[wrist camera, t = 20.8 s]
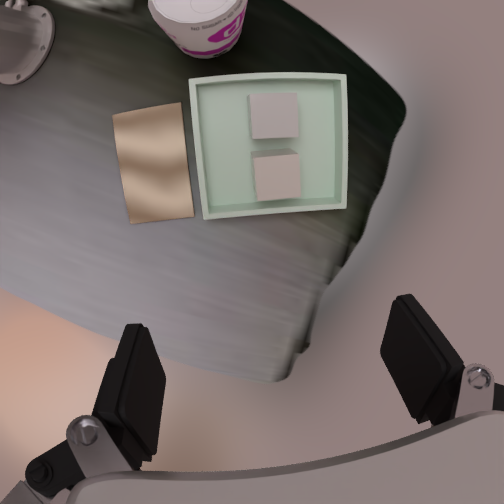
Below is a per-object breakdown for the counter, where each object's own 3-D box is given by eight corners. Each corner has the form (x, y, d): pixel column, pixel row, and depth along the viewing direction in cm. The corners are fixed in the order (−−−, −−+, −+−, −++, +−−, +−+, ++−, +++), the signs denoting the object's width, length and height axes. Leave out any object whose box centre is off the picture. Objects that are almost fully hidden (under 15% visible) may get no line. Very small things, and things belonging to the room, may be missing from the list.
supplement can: (254, 25, 29) (271, -21, 16) (211, 71, 32) (201, 48, 18) (203, -8, 26) (191, -63, 13) (160, 39, 29) (123, 3, 16)
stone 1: (246, 95, 33) (249, 93, 29) (287, 94, 33) (296, 92, 29) (249, 135, 35) (252, 139, 31) (289, 133, 35) (298, 137, 31)
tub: (192, 81, 32) (188, 79, 29) (336, 76, 33) (346, 74, 30) (205, 210, 40) (203, 219, 37) (337, 200, 41) (346, 208, 37)
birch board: (113, 115, 33) (112, 115, 32) (181, 102, 33) (180, 102, 33) (131, 222, 40) (130, 224, 39) (194, 215, 40) (194, 216, 39)
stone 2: (250, 151, 36) (253, 157, 32) (289, 147, 36) (298, 153, 32) (253, 189, 38) (257, 201, 34) (292, 185, 39) (301, 196, 34)
